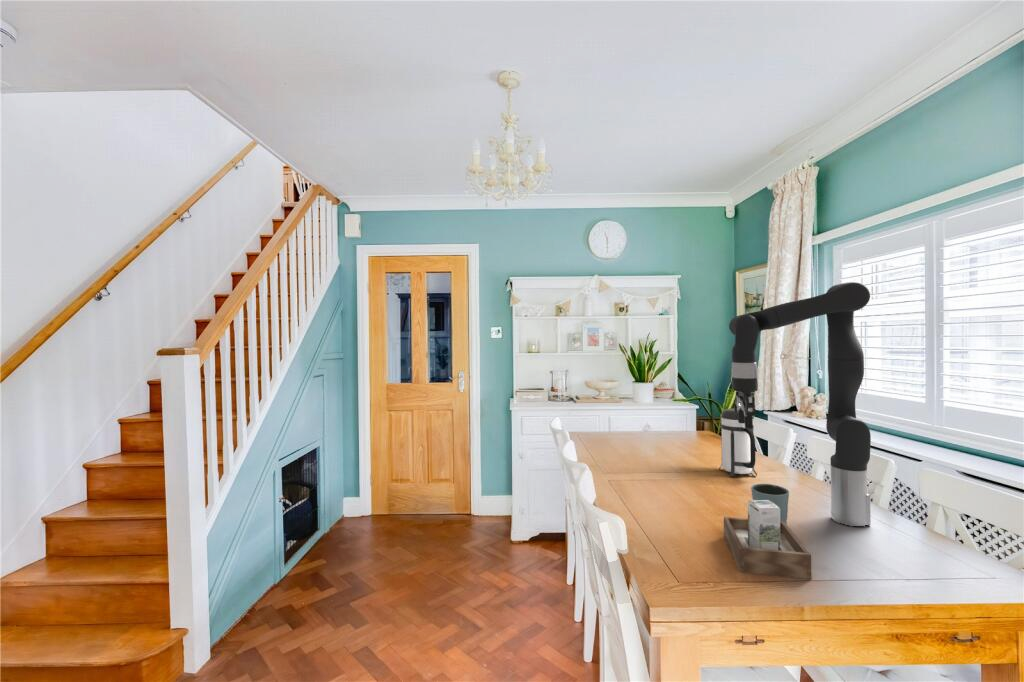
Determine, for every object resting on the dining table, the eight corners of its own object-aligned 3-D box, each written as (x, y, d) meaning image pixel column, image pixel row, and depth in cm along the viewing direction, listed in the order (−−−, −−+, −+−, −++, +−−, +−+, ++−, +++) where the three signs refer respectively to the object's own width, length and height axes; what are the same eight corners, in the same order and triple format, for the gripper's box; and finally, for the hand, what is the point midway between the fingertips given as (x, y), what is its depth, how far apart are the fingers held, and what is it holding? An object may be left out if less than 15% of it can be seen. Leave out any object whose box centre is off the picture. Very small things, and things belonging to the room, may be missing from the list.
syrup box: (768, 550, 124) (767, 498, 124) (781, 561, 118) (780, 507, 118) (747, 551, 124) (747, 499, 124) (759, 562, 118) (758, 507, 118)
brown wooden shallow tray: (784, 542, 129) (784, 521, 129) (811, 579, 110) (811, 555, 109) (723, 537, 133) (723, 516, 133) (739, 571, 114) (739, 548, 114)
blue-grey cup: (789, 524, 141) (788, 486, 140) (789, 537, 132) (789, 496, 132) (752, 518, 146) (752, 481, 146) (750, 530, 137) (750, 491, 137)
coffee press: (711, 474, 191) (710, 404, 191) (727, 466, 202) (726, 399, 202) (755, 483, 178) (754, 408, 178) (769, 474, 189) (768, 403, 189)
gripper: (763, 378, 139) (764, 430, 139) (751, 374, 153) (752, 421, 153) (737, 378, 141) (738, 430, 141) (727, 374, 154) (728, 421, 155)
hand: (745, 425), depth 147 cm, fingers open, 8 cm apart
